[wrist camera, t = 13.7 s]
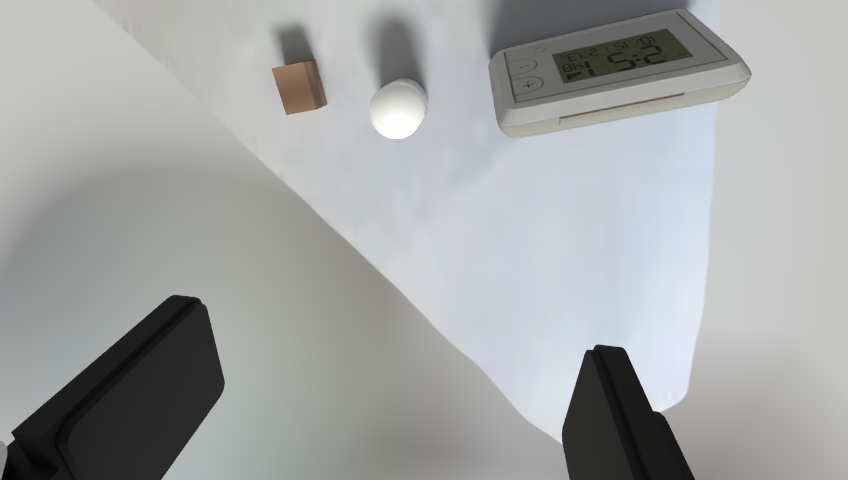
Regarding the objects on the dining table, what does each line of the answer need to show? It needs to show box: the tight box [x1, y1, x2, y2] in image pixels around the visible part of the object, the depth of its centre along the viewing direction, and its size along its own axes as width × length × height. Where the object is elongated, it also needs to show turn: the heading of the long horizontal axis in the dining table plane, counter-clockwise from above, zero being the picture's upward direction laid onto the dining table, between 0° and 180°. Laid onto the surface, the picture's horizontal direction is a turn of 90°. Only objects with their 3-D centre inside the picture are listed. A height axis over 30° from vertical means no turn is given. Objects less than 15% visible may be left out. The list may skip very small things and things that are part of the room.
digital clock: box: [489, 9, 752, 138], centre depth 31 cm, size 16×9×11 cm, turn 91°
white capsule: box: [369, 78, 428, 139], centre depth 37 cm, size 4×4×5 cm
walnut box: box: [272, 60, 327, 115], centre depth 38 cm, size 4×3×3 cm
